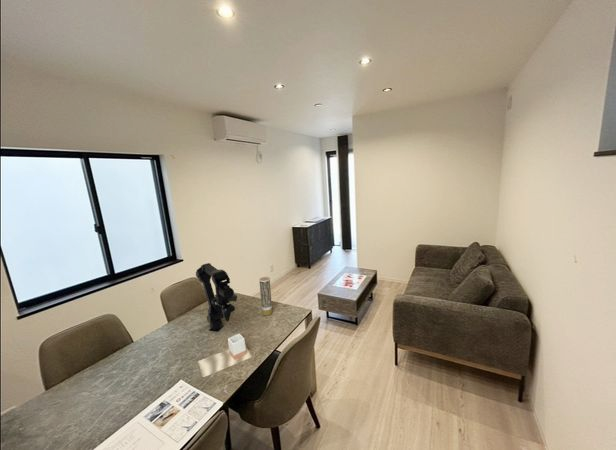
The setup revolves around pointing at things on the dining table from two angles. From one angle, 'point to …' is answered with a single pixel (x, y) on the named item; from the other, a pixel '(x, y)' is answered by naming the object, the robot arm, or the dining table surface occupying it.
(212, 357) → the pin board
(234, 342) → the sleeve
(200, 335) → the dining table surface
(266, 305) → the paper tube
